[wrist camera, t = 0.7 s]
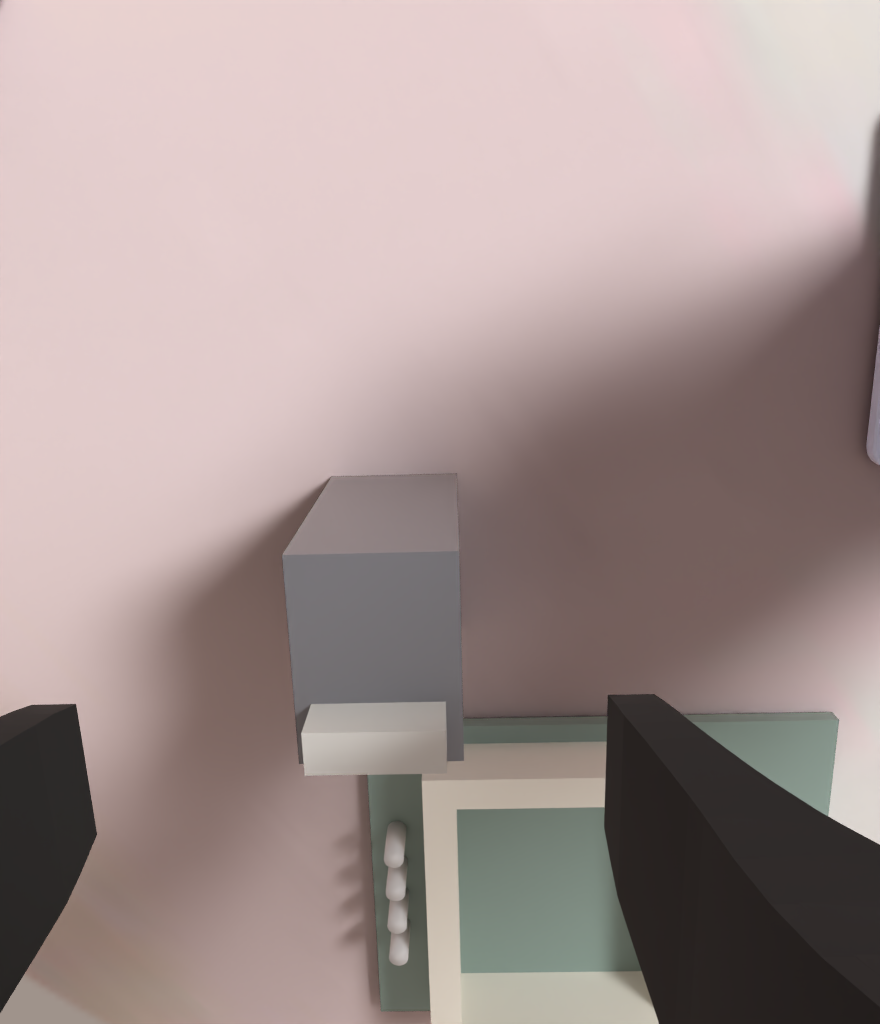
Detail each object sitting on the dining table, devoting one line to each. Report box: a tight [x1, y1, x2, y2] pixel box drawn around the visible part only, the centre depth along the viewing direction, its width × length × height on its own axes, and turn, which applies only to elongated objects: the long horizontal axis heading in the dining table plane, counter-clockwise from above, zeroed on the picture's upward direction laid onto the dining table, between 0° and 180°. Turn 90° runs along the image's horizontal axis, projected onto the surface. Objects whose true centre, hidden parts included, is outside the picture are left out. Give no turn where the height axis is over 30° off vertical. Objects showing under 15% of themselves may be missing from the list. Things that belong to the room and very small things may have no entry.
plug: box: [282, 473, 464, 776], centre depth 17 cm, size 3×4×7 cm
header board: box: [367, 712, 839, 1024], centre depth 21 cm, size 12×9×3 cm
